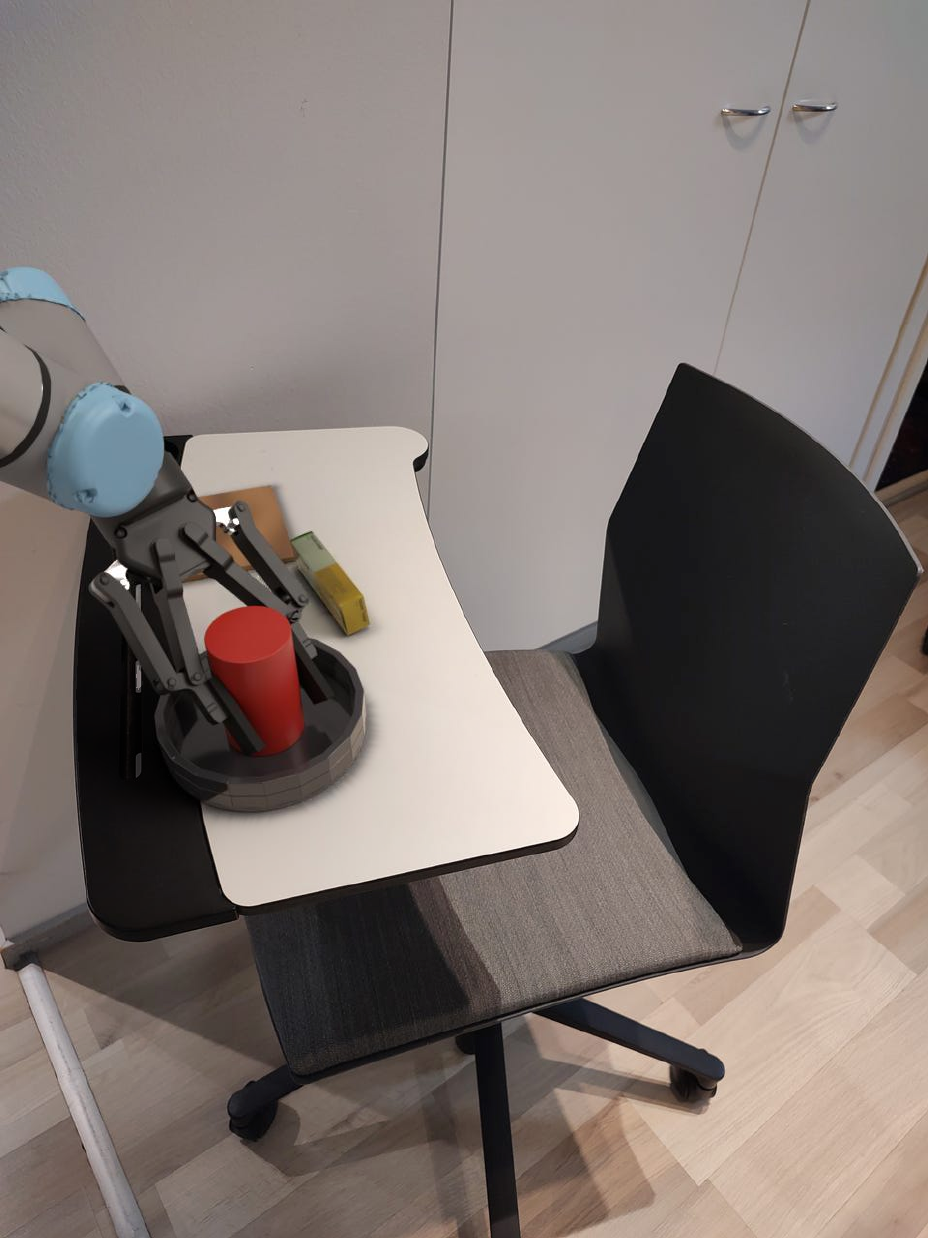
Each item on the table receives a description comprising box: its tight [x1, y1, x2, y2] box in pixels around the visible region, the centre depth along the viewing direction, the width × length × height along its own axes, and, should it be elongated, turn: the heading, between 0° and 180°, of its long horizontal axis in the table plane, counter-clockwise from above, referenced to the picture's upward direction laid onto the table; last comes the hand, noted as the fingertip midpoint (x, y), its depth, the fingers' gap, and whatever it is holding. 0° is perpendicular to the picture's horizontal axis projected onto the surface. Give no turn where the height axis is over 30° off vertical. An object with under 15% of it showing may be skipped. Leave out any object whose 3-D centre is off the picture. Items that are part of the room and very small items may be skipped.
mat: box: [182, 484, 296, 583], centre depth 94 cm, size 14×14×1 cm
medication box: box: [290, 530, 371, 636], centre depth 85 cm, size 12×3×4 cm, turn 31°
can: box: [203, 605, 305, 756], centre depth 70 cm, size 6×6×10 cm
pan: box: [154, 637, 367, 813], centre depth 72 cm, size 16×16×4 cm
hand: (290, 724), depth 69 cm, fingers closed on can, 6 cm apart
